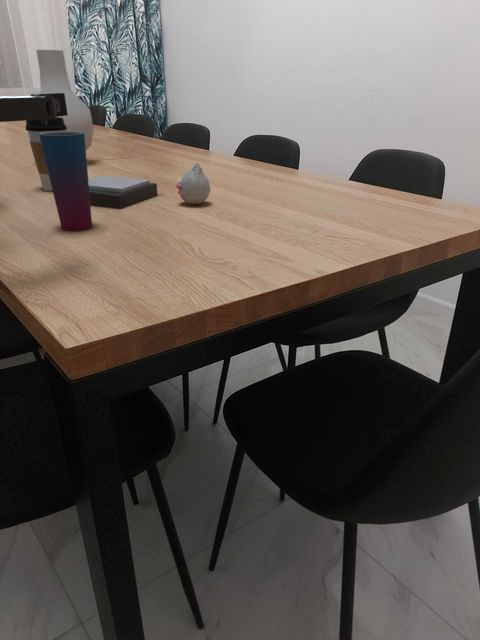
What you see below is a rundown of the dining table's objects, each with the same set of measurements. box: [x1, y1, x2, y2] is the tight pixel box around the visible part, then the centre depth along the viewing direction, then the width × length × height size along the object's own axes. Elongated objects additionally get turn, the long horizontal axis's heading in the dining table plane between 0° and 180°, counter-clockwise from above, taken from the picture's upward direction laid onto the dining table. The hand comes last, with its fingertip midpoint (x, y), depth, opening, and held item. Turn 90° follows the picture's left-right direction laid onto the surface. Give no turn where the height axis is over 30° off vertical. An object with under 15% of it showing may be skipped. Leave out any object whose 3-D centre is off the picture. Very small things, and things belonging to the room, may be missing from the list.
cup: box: [39, 131, 93, 232], centre depth 83 cm, size 7×7×15 cm
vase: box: [35, 49, 94, 151], centre depth 137 cm, size 17×16×28 cm
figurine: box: [174, 162, 211, 205], centre depth 101 cm, size 6×7×8 cm
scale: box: [88, 174, 158, 210], centre depth 106 cm, size 14×14×3 cm
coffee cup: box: [24, 117, 67, 192], centre depth 110 cm, size 8×8×15 cm
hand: (18, 102), depth 69 cm, fingers open, 13 cm apart
